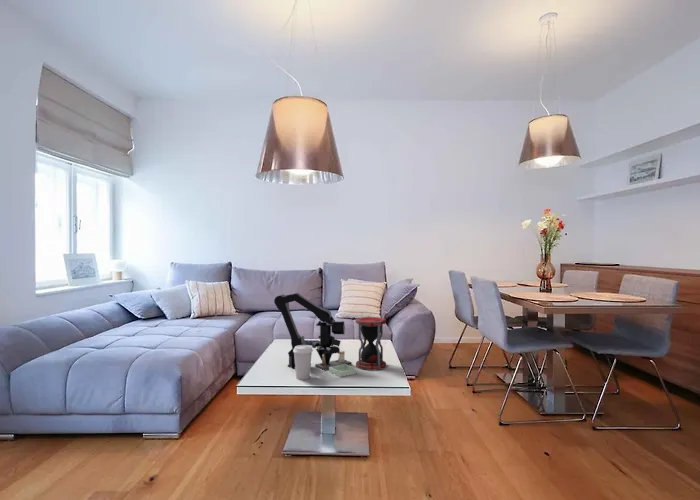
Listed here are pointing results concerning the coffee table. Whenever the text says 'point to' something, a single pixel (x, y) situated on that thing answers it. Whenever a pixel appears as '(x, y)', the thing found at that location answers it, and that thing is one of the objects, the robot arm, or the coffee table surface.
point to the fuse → (341, 357)
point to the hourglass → (370, 343)
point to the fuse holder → (331, 364)
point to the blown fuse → (324, 361)
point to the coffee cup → (302, 361)
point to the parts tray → (342, 370)
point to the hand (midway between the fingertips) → (325, 363)
